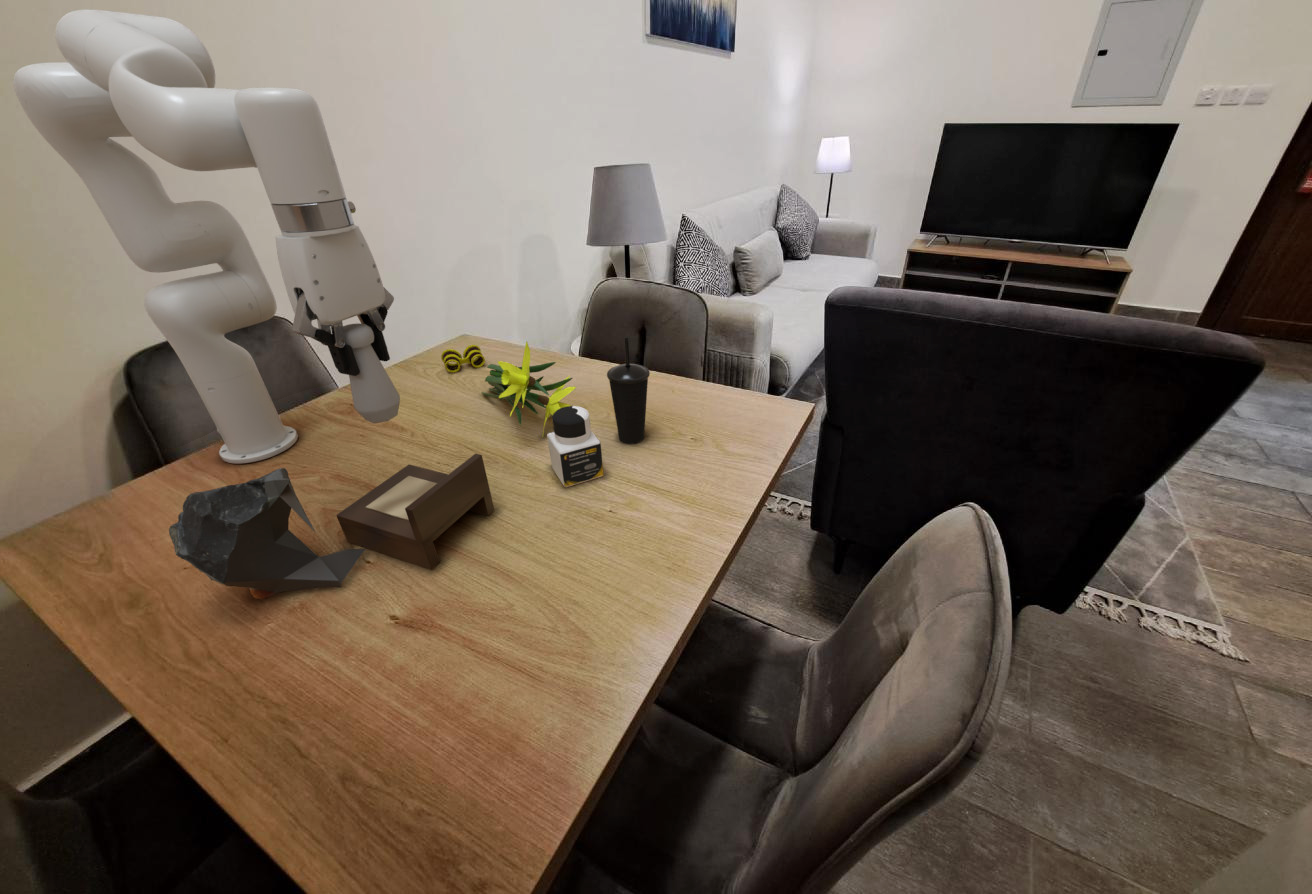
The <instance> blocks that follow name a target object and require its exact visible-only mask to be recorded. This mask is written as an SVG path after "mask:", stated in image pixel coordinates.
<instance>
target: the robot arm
mask: <svg viewBox="0 0 1312 894" xmlns="http://www.w3.org/2000/svg"><path fill="white" fill-rule="evenodd" d="M54 34H55V40H56V44H57V46H58V47H57V48H58V49H59V51H60V53H61V54H62V56H63V58H64V59H65V62H64V61H63V62H62V61H61V62H59V61H57V62H55V61H51V62H38V63H32V64H28V65H25V66H22V67H21V68H19V69H18V70H17V71H16V72H15V73H14V75H13V79H12V81H13V88H14V92H15V94H16V97H17V99H18V102H19V103H20V105H21V107H22V109H23V111H24V113H25V114H26V116H27V118H28V120H29V121H30V122H31V125H33V126H34V128H35V129H36V130H37V132H38V133H39V134H40V135H41V136H42V138H43V139H44V140H45V141H46V142H47V143H48V144H49V146H51V148H53V150H54V151H55V152H56V153H57V154H58V155H59V156H60V157H61V158H62V159H63V160H64V161H65V162H66V163H67V164H68V165H69V166H70V167H71V168H72V169H73V170H74V172H75V173H76V174H77V175H78V177H80V179H81V180H82V181H83V183H84V185H85V187H86V188H87V189H88V192H89V193H90V195H91V197H92V199H93V200H94V202H95V204H96V205H97V207H98V209H99V210H100V212H101V214H102V215H103V217H104V219H105V221H106V223H107V224H108V226H109V227H110V229H111V231H112V233H113V234H114V236H115V237H116V239H117V241H118V243H119V244H120V247H122V249H123V251H124V252H125V254H126V255H127V256H128V259H130V260H131V262H132V263H133V264H134V265H135V266H136V267H137V268H139V269H141V270H142V271H145V272H147V273H156V274H157V273H159V274H160V273H169V272H176V271H182V270H187V269H193V268H197V267H198V268H199V267H203V266H208V265H214V264H217V265H218V266H219V267H220V268H221V271H216V272H211V273H206V274H200V275H195V276H191V277H185V278H180V279H175V280H170V281H168V282H164V283H161V284H159V285H156V286H155V287H153V288H151V289H150V290H149V291H148V292H147V293H146V295H145V297H144V300H143V303H144V308H145V311H146V313H147V315H148V317H149V318H150V319H151V321H152V323H153V324H154V325H155V326H156V328H157V329H158V330H159V332H160V333H161V334H162V335H163V337H164V338H165V339H166V341H167V342H168V343H169V345H170V346H171V348H172V349H173V351H174V352H175V354H176V355H177V357H178V359H179V360H180V362H181V364H182V366H183V367H184V369H185V371H186V373H187V375H188V376H189V379H190V381H191V382H192V384H193V386H194V388H195V390H196V392H197V393H198V395H199V397H200V399H201V401H202V402H203V405H204V407H205V408H206V411H207V412H208V414H209V416H210V418H211V420H212V421H213V423H214V425H215V427H216V431H217V433H218V434H219V435H220V437H221V439H222V440H223V442H224V444H222V446H221V447H220V449H218V450H219V451H218V455H219V457H220V459H221V460H222V461H223V462H226V463H228V464H235V465H236V464H237V465H238V464H240V465H242V464H249V463H255V462H260V461H264V460H266V459H270V458H273V457H274V456H277V455H279V454H281V453H283V452H286V451H287V450H288V449H290V448H291V447H292V446H294V445H295V443H297V441H298V438H299V434H298V432H297V430H296V429H295V428H294V427H291V426H289V425H288V426H287V425H284V423H283V421H282V419H281V417H280V414H279V413H278V410H277V408H276V407H275V404H274V402H273V400H272V397H271V395H270V393H269V391H268V389H267V386H266V384H265V382H264V379H263V377H262V376H261V373H260V371H259V368H258V367H257V365H256V362H255V360H254V358H253V356H252V355H251V353H250V352H249V351H248V350H246V349H245V348H244V347H243V346H242V345H239V344H237V343H235V342H233V341H232V340H230V339H228V338H226V337H225V335H226V334H228V333H231V332H234V331H236V330H240V329H244V328H248V327H251V326H254V325H258V324H261V323H264V322H266V321H270V319H272V318H273V317H274V316H275V315H276V313H277V309H278V307H277V301H276V297H275V295H274V292H273V289H272V287H271V285H270V283H269V281H268V279H267V277H266V275H265V273H264V271H263V269H262V267H261V265H260V262H259V259H258V258H257V256H256V254H255V251H254V249H253V247H252V245H251V243H250V241H249V239H248V237H247V234H246V233H245V231H244V229H243V227H242V226H241V224H240V223H239V221H238V220H237V218H236V217H235V216H234V215H233V213H231V211H229V210H228V209H227V208H226V207H225V206H224V205H221V204H219V203H218V202H214V201H211V200H193V201H183V202H174V201H173V200H172V199H171V197H170V196H169V194H168V192H167V191H166V189H165V188H164V186H163V183H162V182H161V179H160V177H159V175H158V174H157V172H156V171H155V170H154V169H153V168H152V166H151V165H150V164H149V163H147V162H146V161H145V160H144V159H143V158H141V157H140V156H138V155H137V154H136V153H135V152H134V151H132V150H130V149H129V148H127V147H125V146H124V145H123V144H121V143H119V142H117V141H115V140H114V139H112V138H130V137H131V138H133V139H134V140H135V141H136V142H137V143H138V144H139V145H140V146H142V147H143V148H144V149H145V150H147V151H149V152H150V153H152V154H153V155H155V156H157V157H158V158H160V159H161V160H164V161H165V162H167V163H169V164H171V165H173V166H175V167H178V168H180V169H184V170H188V171H193V172H215V171H226V170H234V169H248V168H256V169H257V171H258V173H259V176H260V179H261V181H262V184H263V187H264V191H265V193H266V195H267V198H268V200H269V203H270V206H271V209H272V210H273V214H274V216H275V219H276V222H277V225H278V227H279V229H280V230H279V231H280V233H281V234H280V235H275V246H276V247H275V248H276V253H277V259H278V260H277V261H278V264H279V269H280V272H281V277H282V280H283V283H284V287H285V290H286V293H287V297H288V300H289V302H290V305H291V307H292V311H293V313H294V317H293V323H292V327H291V329H292V331H293V333H295V334H297V335H300V336H304V337H308V338H310V339H313V340H314V341H317V342H319V343H321V345H322V346H327V348H328V351H329V353H330V356H331V359H332V362H333V365H334V367H335V368H336V370H337V372H338V373H339V374H342V375H347V376H349V375H352V376H357V375H359V373H360V370H359V367H358V364H357V362H356V359H355V356H354V353H353V350H352V347H351V346H350V345H345V337H344V330H343V326H344V323H343V321H347V320H349V319H351V318H354V317H357V319H358V320H359V322H360V324H366V325H367V326H369V327H371V329H372V331H373V334H374V342H372V343H371V346H372V348H373V350H374V351H375V353H376V355H377V357H378V358H379V360H380V362H388V361H390V360H391V357H390V354H389V351H388V346H387V343H386V340H385V336H384V334H383V331H385V329H386V324H385V321H386V318H387V316H388V310H389V309H390V308H391V306H392V305H393V303H394V300H395V297H394V295H393V294H392V293H390V291H388V289H386V288H385V286H384V284H383V281H382V278H381V274H380V272H379V269H378V266H377V264H376V261H375V258H374V256H373V253H372V251H371V249H370V246H369V244H368V242H367V240H366V238H365V235H364V233H363V231H362V230H361V229H360V226H359V225H356V224H355V221H354V219H353V215H352V214H355V213H356V211H357V210H356V206H355V204H354V202H352V201H349V200H348V199H347V195H346V193H345V189H344V186H343V182H342V179H341V175H340V172H339V169H338V166H337V165H338V164H337V162H336V159H335V156H334V152H333V150H332V146H331V143H330V139H329V136H328V133H327V128H326V126H325V123H324V120H323V116H322V112H321V109H320V107H319V104H318V102H317V100H316V99H315V98H314V97H313V95H311V93H309V92H308V91H306V90H303V89H300V88H293V87H248V88H243V89H242V88H227V87H226V88H224V87H223V88H221V87H215V86H216V70H215V65H214V63H213V60H212V57H211V55H210V53H209V51H208V49H207V47H206V46H205V44H204V43H203V42H202V41H201V39H200V38H199V36H197V35H196V34H195V33H194V32H193V31H192V30H191V29H189V27H187V26H186V25H185V24H183V23H181V22H179V21H177V20H175V19H171V18H169V17H164V16H157V15H150V14H141V13H140V14H138V13H132V12H123V11H115V10H114V11H113V10H104V9H94V8H93V9H92V8H91V9H90V8H89V9H77V10H73V11H70V12H67V13H66V14H64V15H63V16H61V18H60V19H59V20H58V22H57V24H56V25H55V32H54ZM313 321H317V327H316V326H313V324H312V322H313Z"/></svg>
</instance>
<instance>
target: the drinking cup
mask: <svg viewBox="0 0 1312 894" xmlns="http://www.w3.org/2000/svg"><path fill="white" fill-rule="evenodd" d="M629 341H630V339H629V338H628V337H624V354H625V355H624V357H625V363H622V364H619V365H615V366H613V367H611V368H610V369H608V370H607V372H606V378H607V379H608V382H609V387H610V393H611V399H612V404H613V410H614V417H615V423H616V429H617V435H618V439H619V441H620V442H621V443H623V444H627V445H635V444H639V443H641V442H642V441H643V440H644V439H645V429H646V428H645V426H646V415H647V414H646V413H647V400H648V385H649V382H648V381H649V377H650V373H651V372H650V370H649V368H647V367H646V366H644V365H641V364H636V363H630V362H631V361H630V360H631V359H630V344H629V343H630V342H629Z"/></svg>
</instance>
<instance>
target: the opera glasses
mask: <svg viewBox="0 0 1312 894" xmlns="http://www.w3.org/2000/svg"><path fill="white" fill-rule="evenodd" d="M440 358H441V361H442V363H443V364H444V369H445V370H446V372H450V373H457V372H458V371H460V368H461V366H462V365H464V364H470V365H472V366H473V367H474V368H482V367H483V366H484V365H485V363H486V358H485V356H484V355H483V353H482V350H481V348H480V346H479V345H476V344H471V345H470V344H469V345H468V346H467V347H466V348H465V349H464V350H463V353H462V354H461V353H460V352H459V351H458V350H457V349H452V348H448V349H445V350H444V351H443V352H442V353H441V355H440ZM453 362H454V363H453Z"/></svg>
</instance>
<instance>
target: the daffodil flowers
mask: <svg viewBox="0 0 1312 894" xmlns="http://www.w3.org/2000/svg"><path fill="white" fill-rule="evenodd" d="M530 364H531V349H530V346H529V342H528V341H525V345H524V351H523V356H522V362H521V366H517V365H515V364H513V363H510V362H507V361H502V360H497V364H494V363H489V364H488V365H487V367H486V368H487V369H491V370H490V371H489V375H486V377H485V379H484V382H487V383H488V385H490V387H489V388H488V390H489V391H491V392H493V393H495V394H493V393H487V392H484V391H483V392H482V391H481V392H480V393H481V395H483V396H486V397H490V398H495V399H499V400H500V401H501V400H506V401H507V402H508V404H510V405H511V406H512V409H511V411H510V413H509V417H511V416H512V414H513V412H514V411H515V415H516V418H517V421H518V425H519V426H522V421H523V414H522V410H521V409H520V408H519V407H518V406H517V405H518V403H520V404H522V406H521V407H522V409H523V408H524V406H525V407H526V408H527V409H528V410H530V411H531V412H533V413H534V414H535V415H538V416H539V412H538V411H537V409H536V408H535V407H534V406H533V404H532V403H534V404H535V405H537V406H539V407H541V408H544V409H545V411H544V413H545V414H544V415H545V416H544V421H543V429H542V435H541V436H542V438H543V437H544V434H545V431H544V430H545V426H546V423H547V420H548V418H550V415H551V416H552V415H553V414H554V413H555V411H557V410H558V409H560V408H563V407H567V406H572V405H571V404H570V403H564V402H560V401H561V400H563V399H564V398H566V396H568V395H569V394H570V393H571V392H573V391H574V390H575V389H576V388H577V386H568V387H565V385H566V384H567V383H569V382H570V381H572V380H573V377H571V375H568V376H567V377H565V378H564V379H563V380H560V381H558V382H554V383H550V384H545V385H542V384H540V382H541V381H542V380H543V379H544V378H545V376H544V375H542V376H540V377H538V378H536V379H535V377H533V376H531V375H530V373H531V374H532V373H540V372H542V371H544V370H546V369H547V370H548V369H549V368H550V367H552V366H554V365H555V364H556V361H552V362H551V361H550V362H547V363H542V364H536V365H530ZM491 387H493V388H491ZM553 390H555V391H553ZM532 391H538V392H542V393H543V394H545V395H542V394H538V393H535V392H532ZM549 391H553V393H552V394H551V396H550V394H549ZM546 395H547V396H546ZM548 396H549V397H548ZM513 401H514V402H513ZM529 401H530V402H529Z"/></svg>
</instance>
